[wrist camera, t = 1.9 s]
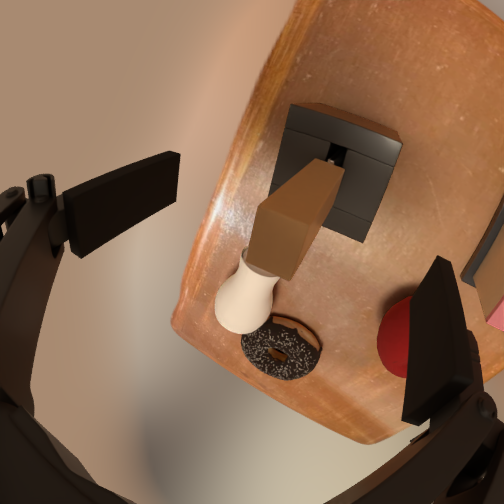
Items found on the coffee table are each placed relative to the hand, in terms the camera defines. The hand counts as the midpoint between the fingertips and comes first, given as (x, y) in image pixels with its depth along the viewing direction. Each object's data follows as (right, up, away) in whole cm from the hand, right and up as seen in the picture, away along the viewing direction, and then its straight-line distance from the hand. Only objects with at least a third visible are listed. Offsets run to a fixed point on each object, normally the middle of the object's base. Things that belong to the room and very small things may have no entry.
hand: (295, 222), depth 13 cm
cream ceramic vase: (-1, -4, +25) cm, 25 cm away
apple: (+18, -9, +18) cm, 27 cm away
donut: (+3, -14, +30) cm, 33 cm away
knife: (+7, +8, +13) cm, 16 cm away
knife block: (+7, +8, +13) cm, 17 cm away
